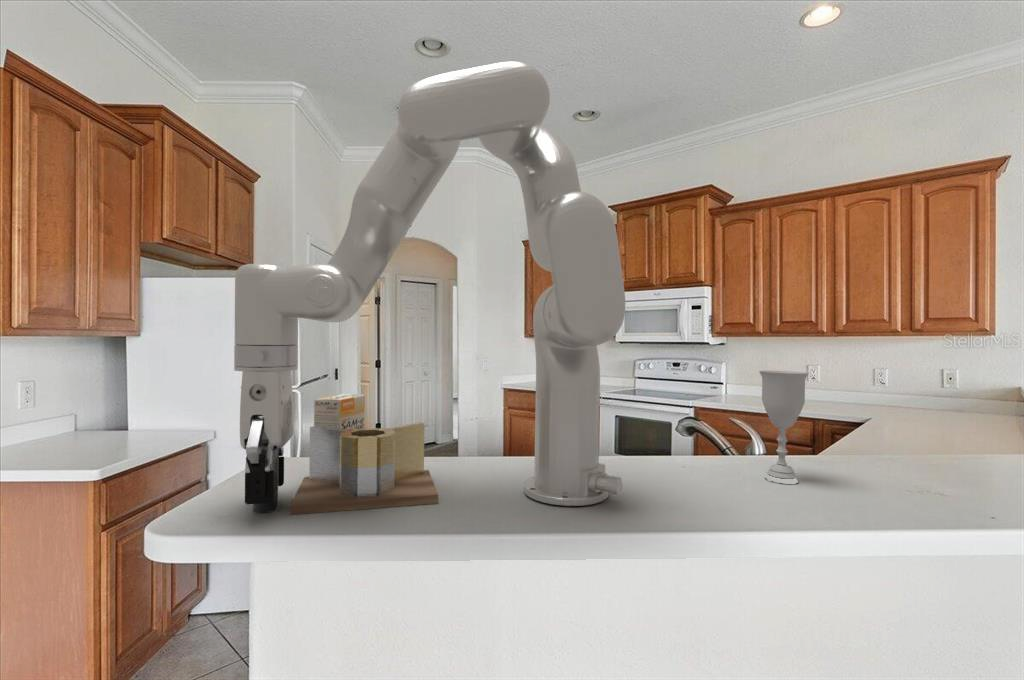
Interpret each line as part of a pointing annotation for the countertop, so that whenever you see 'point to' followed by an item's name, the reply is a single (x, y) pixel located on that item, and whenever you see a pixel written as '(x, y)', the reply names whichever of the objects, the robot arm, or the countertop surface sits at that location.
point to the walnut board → (330, 499)
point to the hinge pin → (274, 504)
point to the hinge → (366, 457)
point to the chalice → (783, 410)
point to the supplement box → (340, 411)
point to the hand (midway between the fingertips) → (265, 492)
